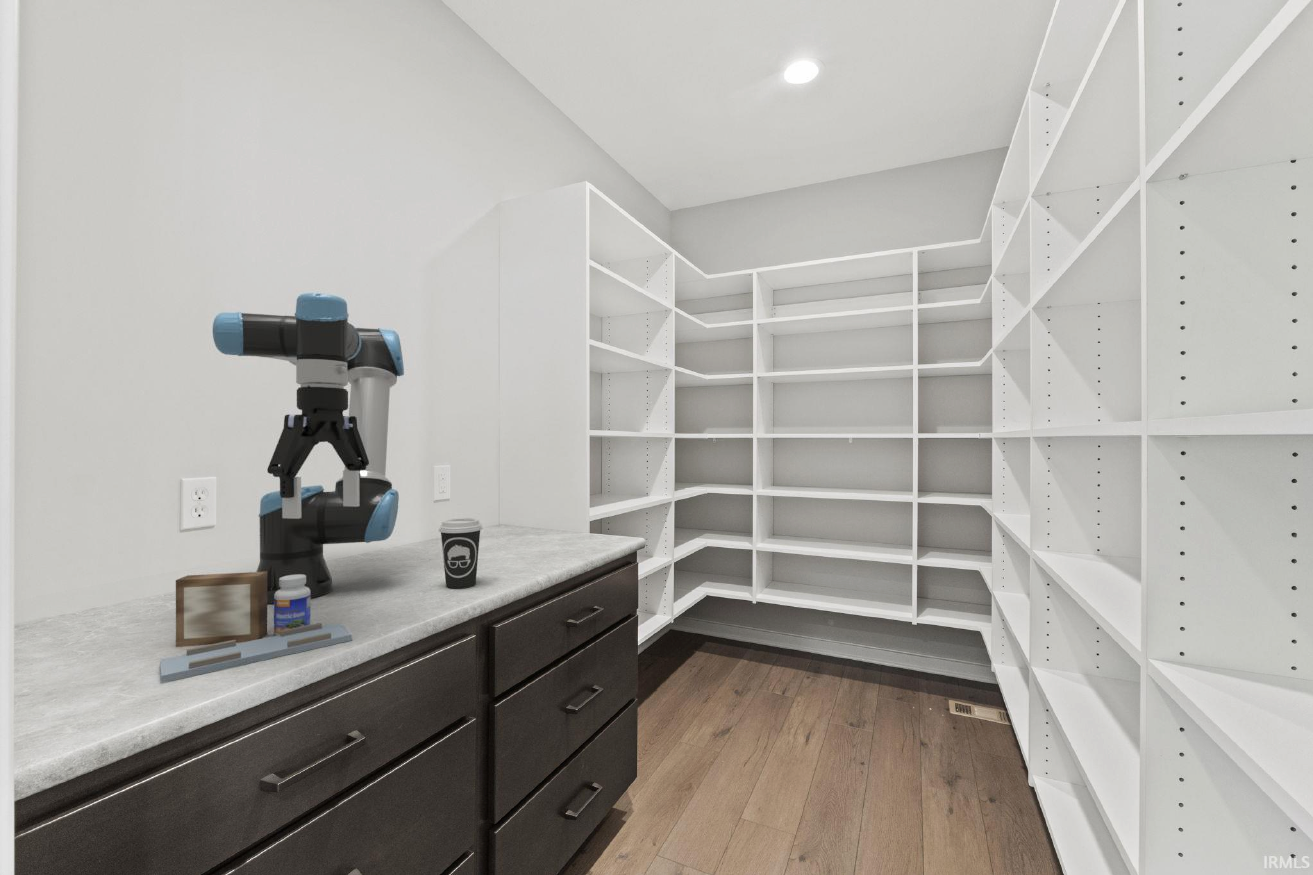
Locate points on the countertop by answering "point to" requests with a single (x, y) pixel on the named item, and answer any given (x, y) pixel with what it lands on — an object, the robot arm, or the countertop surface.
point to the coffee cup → (460, 551)
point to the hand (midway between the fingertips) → (323, 511)
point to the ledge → (251, 650)
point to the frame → (221, 608)
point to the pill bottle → (291, 603)
